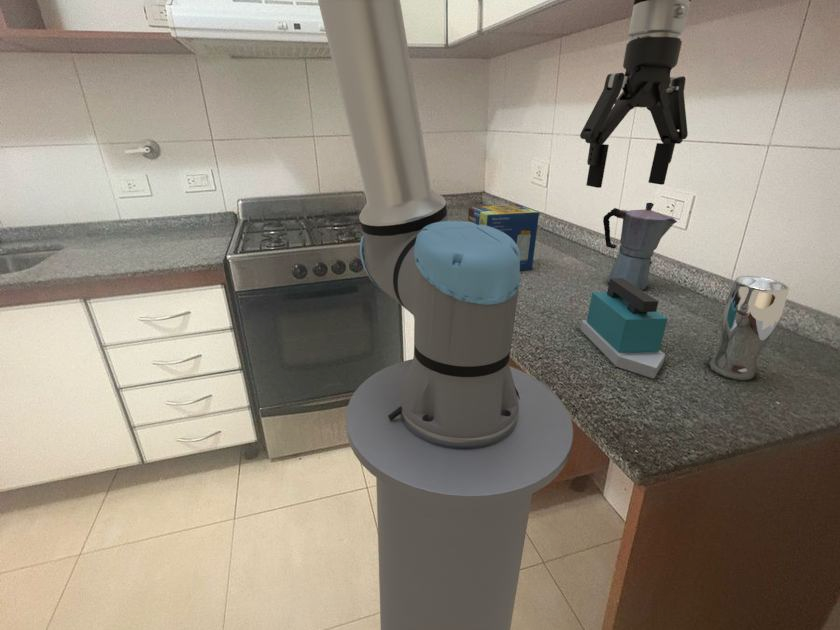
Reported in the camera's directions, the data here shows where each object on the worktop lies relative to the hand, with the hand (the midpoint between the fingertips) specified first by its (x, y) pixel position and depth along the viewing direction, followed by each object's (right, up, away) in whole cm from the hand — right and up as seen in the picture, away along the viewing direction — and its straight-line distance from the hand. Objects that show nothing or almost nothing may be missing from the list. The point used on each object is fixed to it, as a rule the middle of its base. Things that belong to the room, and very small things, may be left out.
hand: (625, 185), depth 75 cm
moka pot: (+15, -15, +33) cm, 40 cm away
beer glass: (+15, -31, -3) cm, 35 cm away
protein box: (-14, -9, +45) cm, 48 cm away
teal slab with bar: (0, -28, +2) cm, 28 cm away
